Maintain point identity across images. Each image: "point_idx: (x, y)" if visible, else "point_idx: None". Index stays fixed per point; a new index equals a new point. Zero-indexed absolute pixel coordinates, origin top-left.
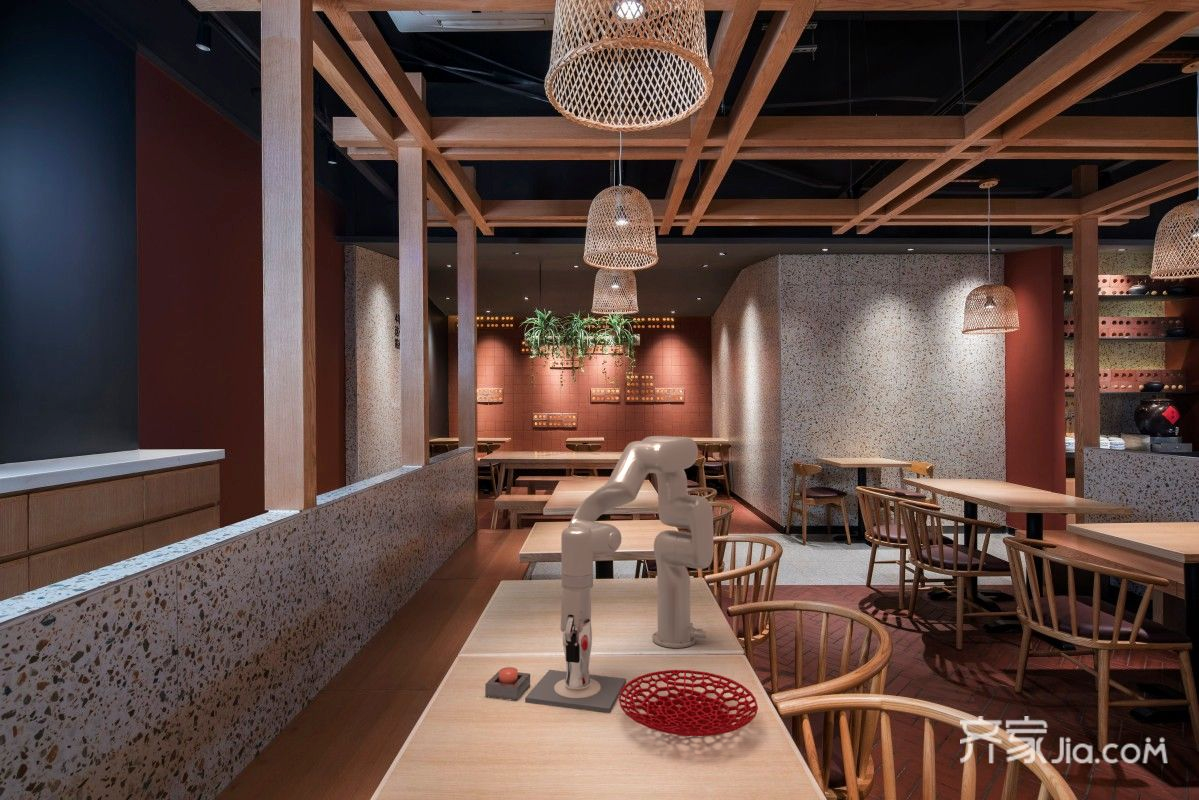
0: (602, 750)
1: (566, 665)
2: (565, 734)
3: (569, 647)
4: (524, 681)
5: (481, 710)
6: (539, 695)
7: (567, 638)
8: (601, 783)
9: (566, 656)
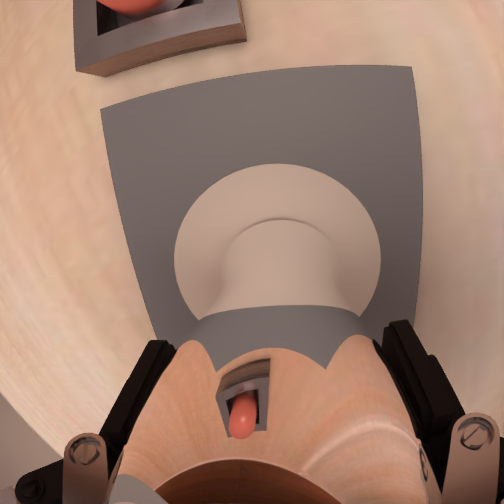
0: (57, 396)
1: (233, 280)
2: (43, 322)
3: (104, 439)
4: (160, 43)
5: (26, 35)
6: (137, 151)
7: (11, 498)
8: (12, 398)
9: (141, 361)
